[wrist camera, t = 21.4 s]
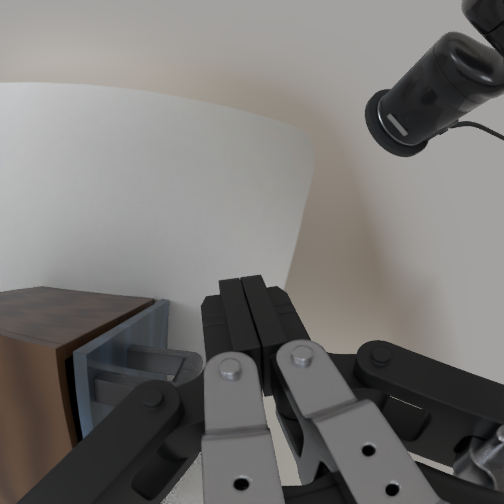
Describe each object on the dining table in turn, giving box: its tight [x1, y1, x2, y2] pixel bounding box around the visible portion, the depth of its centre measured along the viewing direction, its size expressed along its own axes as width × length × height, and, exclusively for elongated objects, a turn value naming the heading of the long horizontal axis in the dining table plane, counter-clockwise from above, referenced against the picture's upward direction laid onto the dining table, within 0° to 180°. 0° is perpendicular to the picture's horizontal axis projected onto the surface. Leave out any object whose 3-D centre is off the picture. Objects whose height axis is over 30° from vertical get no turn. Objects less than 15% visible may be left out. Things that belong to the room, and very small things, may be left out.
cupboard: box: [0, 286, 154, 504], centre depth 25 cm, size 18×26×24 cm
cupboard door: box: [73, 299, 203, 439], centre depth 25 cm, size 7×26×24 cm, turn 175°
